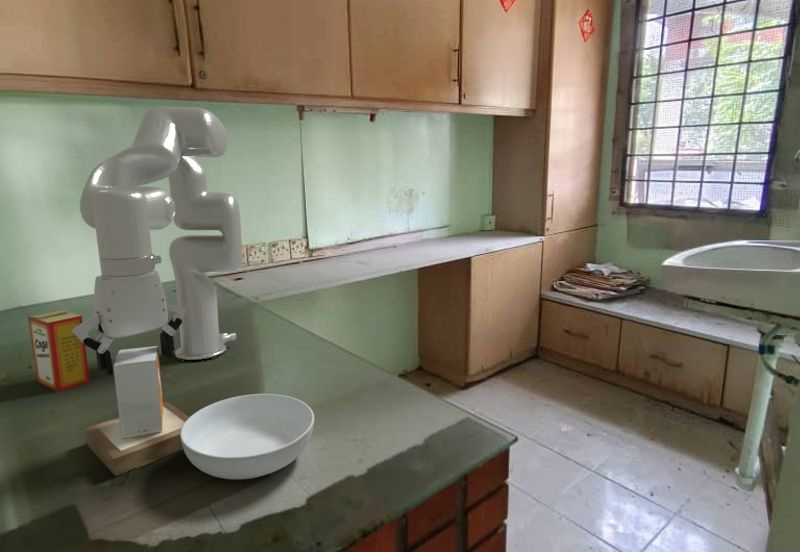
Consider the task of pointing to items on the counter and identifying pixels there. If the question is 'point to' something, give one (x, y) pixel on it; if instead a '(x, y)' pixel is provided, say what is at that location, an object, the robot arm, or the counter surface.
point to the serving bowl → (247, 435)
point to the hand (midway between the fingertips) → (138, 364)
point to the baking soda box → (58, 350)
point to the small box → (138, 391)
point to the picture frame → (136, 442)
